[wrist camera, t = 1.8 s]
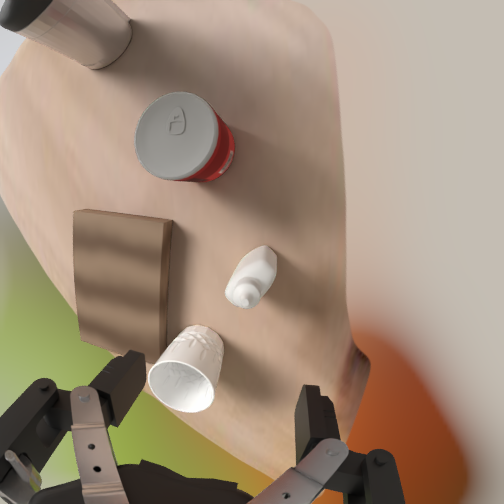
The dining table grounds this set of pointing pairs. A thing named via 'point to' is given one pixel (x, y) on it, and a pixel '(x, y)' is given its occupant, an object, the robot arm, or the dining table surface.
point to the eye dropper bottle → (252, 277)
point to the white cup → (188, 370)
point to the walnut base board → (122, 280)
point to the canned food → (183, 139)
